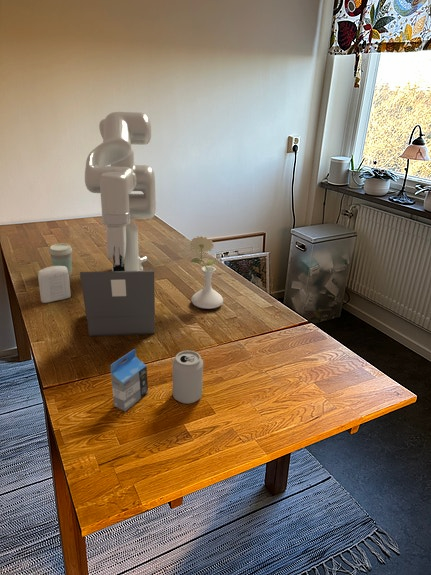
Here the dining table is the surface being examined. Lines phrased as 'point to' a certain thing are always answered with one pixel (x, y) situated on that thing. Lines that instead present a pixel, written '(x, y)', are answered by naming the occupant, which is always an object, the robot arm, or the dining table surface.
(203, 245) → the flower in vase
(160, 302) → the dining table surface
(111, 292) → the mailer lid
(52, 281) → the photo printer
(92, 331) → the box
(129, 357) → the label tape box
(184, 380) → the can
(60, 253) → the coffee cup
